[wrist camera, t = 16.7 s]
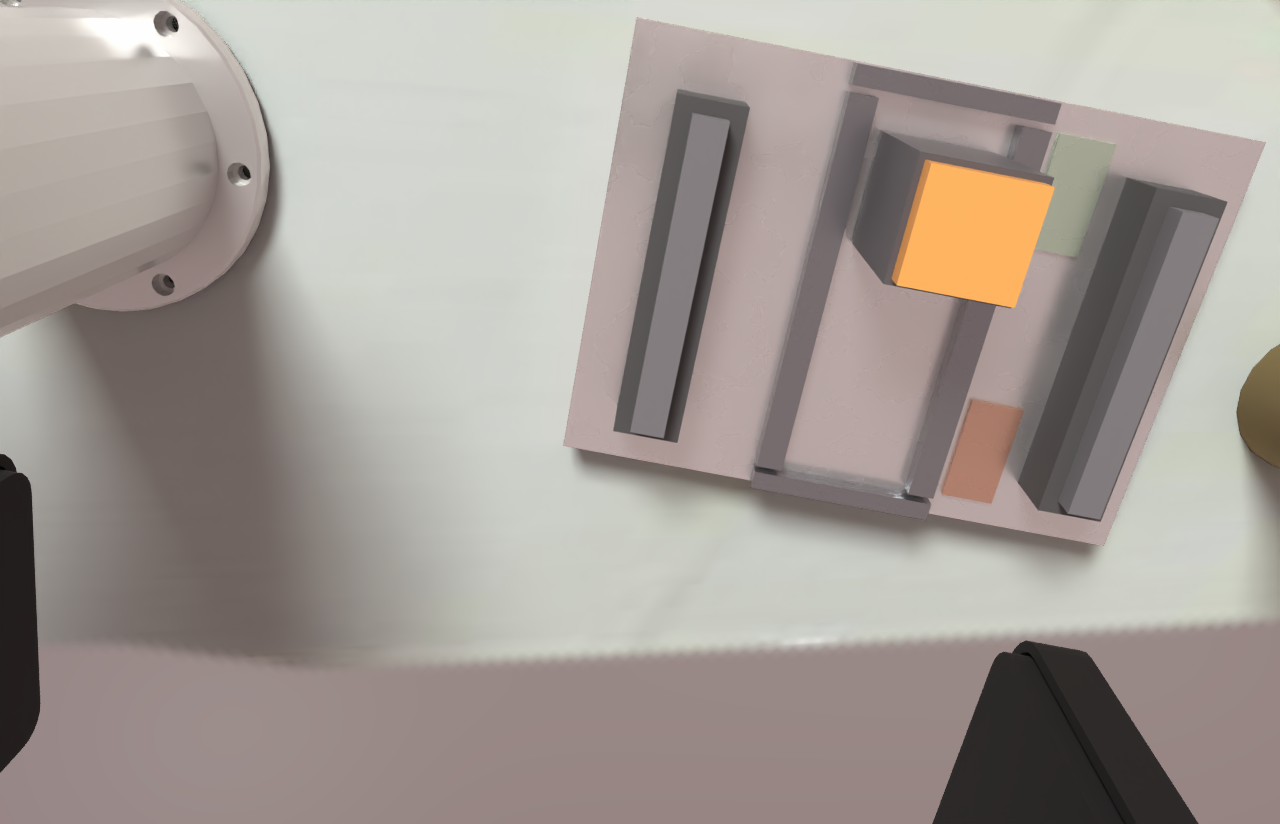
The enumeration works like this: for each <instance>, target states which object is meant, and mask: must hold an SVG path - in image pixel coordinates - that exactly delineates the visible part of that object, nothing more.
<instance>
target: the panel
mask: <svg viewBox="0 0 1280 824" xmlns="http://www.w3.org/2000/svg"><path fill="white" fill-rule="evenodd" d="M677 89H681V90H686V91H691V92H696V93H701V94H707V95H712V96H717V97H722V98H727V99H732V100H737V101H742V102H746V103H747V104H748V106H749V107H750V110H749V115H748V120H747V124H746V129H745V133H744V138H743V143H742V147H741V152H740V157H739V161H738V166H737V170H736V175H735V180H734V184H733V189H732V193H731V198H730V203H729V207H728V212H727V217H726V221H725V226H724V230H723V235H722V240H721V244H720V249H719V254H718V258H717V263H716V267H715V272H714V277H713V281H712V286H711V291H710V295H709V300H708V304H707V309H706V314H705V318H704V323H703V327H702V332H701V337H700V341H699V346H698V351H697V355H696V360H695V364H694V369H693V374H692V378H691V383H690V388H689V392H688V397H687V401H686V406H685V411H684V415H683V420H682V424H681V429H680V434H679V438H678V443H674V442H669V441H663V440H658V439H653V438H647V437H642V436H637V435H631V434H626V433H620V432H615V431H613V428H614V422H615V416H616V411H617V405H618V400H619V394H620V389H621V384H622V379H623V373H624V368H625V363H626V358H627V352H628V347H629V342H630V336H631V331H632V326H633V321H634V315H635V310H636V305H637V300H638V294H639V289H640V284H641V278H642V273H643V268H644V263H645V257H646V252H647V247H648V242H649V236H650V231H651V226H652V220H653V215H654V210H655V205H656V199H657V194H658V189H659V184H660V178H661V173H662V168H663V163H664V157H665V152H666V147H667V141H668V136H669V131H670V126H671V120H672V115H673V110H674V105H675V99H676V94H677ZM882 131H886V132H892V133H897V134H902V135H907V136H912V137H917V138H922V139H927V140H932V141H937V142H942V143H947V144H952V145H958V146H963V147H968V148H973V149H978V150H983V151H988V152H993V153H996V154H999V155H1001V156H1004V157H1006V158H1008V159H1011V160H1013V161H1016V162H1018V163H1020V164H1023V165H1025V166H1028V167H1030V168H1032V169H1035V170H1037V171H1040V172H1042V173H1044V174H1047V175H1049V176H1052V177H1054V180H1053V184H1052V186H1053V187H1055V189H1054V192H1053V195H1052V198H1051V201H1050V204H1049V207H1048V210H1047V213H1046V216H1045V219H1044V222H1043V225H1042V228H1041V231H1040V234H1039V237H1038V240H1037V243H1036V246H1035V249H1034V252H1033V255H1032V258H1031V261H1030V264H1029V267H1028V270H1027V273H1026V276H1025V279H1024V282H1023V285H1022V288H1021V291H1020V294H1019V297H1018V300H1017V303H1016V306H1015V308H1012V307H1011V308H1006V307H1000V306H995V305H990V304H985V303H980V302H974V301H969V300H964V299H959V298H954V297H948V296H943V295H938V294H933V293H928V292H922V291H917V290H912V289H907V288H902V287H896V286H891V285H886V284H883V283H882V282H881V280H880V279H879V278H878V277H877V275H876V274H875V273H874V271H873V270H872V269H871V268H870V266H869V265H868V264H867V262H866V261H865V260H864V258H863V257H862V256H861V255H860V253H859V252H858V251H857V249H856V248H855V247H854V245H853V244H852V242H853V238H854V234H855V231H856V227H857V223H858V219H859V216H860V212H861V208H862V204H863V200H864V197H865V193H866V189H867V185H868V182H869V178H870V174H871V170H872V166H873V163H874V159H875V155H876V151H877V148H878V144H879V140H880V136H881V132H882ZM1265 143H1266V142H1261V141H1256V140H1251V139H1246V138H1241V137H1237V136H1232V135H1227V134H1222V133H1217V132H1211V131H1206V130H1201V129H1196V128H1191V127H1186V126H1181V125H1176V124H1171V123H1166V122H1161V121H1156V120H1151V119H1146V118H1141V117H1136V116H1131V115H1126V114H1121V113H1116V112H1111V111H1106V110H1101V109H1096V108H1091V107H1086V106H1081V105H1076V104H1071V103H1066V102H1061V101H1056V100H1051V99H1046V98H1041V97H1036V96H1031V95H1026V94H1021V93H1016V92H1010V91H1005V90H1000V89H995V88H990V87H985V86H980V85H975V84H970V83H965V82H960V81H955V80H950V79H945V78H940V77H935V76H930V75H925V74H920V73H915V72H910V71H905V70H900V69H895V68H890V67H885V66H880V65H875V64H870V63H865V62H860V61H855V60H850V59H845V58H840V57H835V56H830V55H825V54H820V53H815V52H809V51H804V50H799V49H794V48H789V47H784V46H779V45H774V44H769V43H764V42H759V41H754V40H749V39H744V38H739V37H734V36H729V35H724V34H719V33H714V32H709V31H704V30H699V29H694V28H689V27H684V26H679V25H674V24H669V23H664V22H659V21H654V20H649V19H644V18H638V17H637V18H636V24H635V30H634V36H633V42H632V47H631V53H630V59H629V65H628V71H627V77H626V82H625V88H624V94H623V100H622V106H621V112H620V118H619V123H618V129H617V135H616V141H615V147H614V153H613V158H612V164H611V170H610V176H609V182H608V188H607V193H606V199H605V205H604V211H603V217H602V223H601V228H600V234H599V240H598V246H597V252H596V258H595V264H594V269H593V275H592V281H591V287H590V293H589V299H588V304H587V310H586V316H585V322H584V328H583V334H582V339H581V345H580V351H579V357H578V363H577V369H576V374H575V380H574V386H573V392H572V398H571V404H570V410H569V415H568V421H567V427H566V433H565V439H564V445H563V446H567V447H573V448H578V449H583V450H589V451H594V452H600V453H605V454H610V455H616V456H621V457H626V458H632V459H637V460H643V461H648V462H653V463H659V464H664V465H670V466H675V467H680V468H686V469H691V470H697V471H702V472H707V473H713V474H718V475H724V476H729V477H734V478H740V479H745V480H750V484H751V488H754V489H760V490H765V491H771V492H776V493H781V494H787V495H792V496H798V497H803V498H808V499H814V500H819V501H825V502H830V503H835V504H841V505H846V506H852V507H857V508H862V509H868V510H873V511H879V512H884V513H889V514H895V515H900V516H905V517H911V518H916V519H922V520H927V517H928V514H934V515H939V516H945V517H950V518H955V519H961V520H966V521H971V522H977V523H982V524H988V525H993V526H998V527H1004V528H1009V529H1015V530H1020V531H1025V532H1031V533H1036V534H1042V535H1047V536H1052V537H1058V538H1063V539H1069V540H1074V541H1079V542H1085V543H1090V544H1095V545H1101V546H1104V544H1105V541H1106V539H1107V536H1108V534H1109V531H1110V529H1111V526H1112V524H1113V521H1114V519H1115V516H1116V514H1117V511H1118V509H1119V506H1120V504H1121V501H1122V499H1123V496H1124V494H1125V492H1126V489H1127V487H1128V484H1129V482H1130V479H1131V477H1132V474H1133V472H1134V469H1135V467H1136V464H1137V462H1138V459H1139V457H1140V454H1141V452H1142V449H1143V447H1144V444H1145V442H1146V439H1147V437H1148V434H1149V432H1150V429H1151V427H1152V424H1153V422H1154V419H1155V417H1156V414H1157V412H1158V409H1159V407H1160V405H1161V402H1162V400H1163V397H1164V395H1165V392H1166V390H1167V387H1168V385H1169V382H1170V380H1171V377H1172V375H1173V372H1174V370H1175V367H1176V365H1177V362H1178V360H1179V357H1180V355H1181V352H1182V350H1183V347H1184V345H1185V342H1186V340H1187V337H1188V335H1189V332H1190V330H1191V327H1192V325H1193V322H1194V320H1195V318H1196V315H1197V313H1198V310H1199V308H1200V305H1201V303H1202V300H1203V298H1204V295H1205V293H1206V290H1207V288H1208V285H1209V283H1210V280H1211V278H1212V275H1213V273H1214V270H1215V268H1216V265H1217V263H1218V260H1219V258H1220V255H1221V253H1222V250H1223V248H1224V245H1225V243H1226V240H1227V238H1228V235H1229V233H1230V231H1231V228H1232V226H1233V223H1234V221H1235V218H1236V216H1237V213H1238V211H1239V208H1240V206H1241V203H1242V201H1243V198H1244V196H1245V193H1246V191H1247V188H1248V186H1249V183H1250V181H1251V178H1252V176H1253V173H1254V171H1255V168H1256V166H1257V163H1258V161H1259V158H1260V156H1261V153H1262V151H1263V148H1264V146H1265ZM1127 177H1128V178H1133V179H1138V180H1143V181H1148V182H1153V183H1158V184H1163V185H1168V186H1173V187H1178V188H1184V189H1189V190H1193V191H1197V192H1200V193H1203V194H1206V195H1209V196H1212V197H1215V198H1218V199H1221V200H1224V201H1227V205H1226V208H1225V210H1224V213H1223V215H1222V218H1221V220H1220V223H1219V225H1218V228H1217V230H1216V233H1215V235H1214V238H1213V240H1212V243H1211V245H1210V248H1209V250H1208V253H1207V255H1206V258H1205V260H1204V263H1203V265H1202V268H1201V270H1200V273H1199V276H1198V278H1197V281H1196V283H1195V286H1194V288H1193V291H1192V293H1191V296H1190V298H1189V301H1188V303H1187V306H1186V308H1185V311H1184V313H1183V316H1182V318H1181V321H1180V323H1179V326H1178V328H1177V331H1176V333H1175V336H1174V338H1173V341H1172V344H1171V346H1170V349H1169V351H1168V354H1167V356H1166V359H1165V361H1164V364H1163V366H1162V369H1161V371H1160V374H1159V376H1158V379H1157V381H1156V384H1155V386H1154V389H1153V391H1152V394H1151V396H1150V399H1149V401H1148V404H1147V406H1146V409H1145V412H1144V414H1143V417H1142V419H1141V422H1140V424H1139V427H1138V429H1137V432H1136V434H1135V437H1134V439H1133V442H1132V444H1131V447H1130V449H1129V452H1128V454H1127V457H1126V459H1125V462H1124V464H1123V467H1122V469H1121V472H1120V474H1119V477H1118V480H1117V482H1116V485H1115V487H1114V490H1113V492H1112V495H1111V497H1110V500H1109V502H1108V505H1107V507H1106V510H1105V512H1104V515H1103V517H1102V520H1101V522H1098V521H1093V520H1088V519H1082V518H1077V517H1072V516H1066V515H1061V514H1055V513H1050V512H1045V511H1039V510H1037V508H1036V507H1035V506H1034V504H1033V503H1032V502H1031V500H1030V499H1029V497H1028V496H1027V495H1026V493H1025V492H1024V491H1023V489H1022V488H1021V486H1020V485H1019V484H1018V480H1019V478H1020V475H1021V472H1022V469H1023V466H1024V464H1025V461H1026V458H1027V455H1028V452H1029V450H1030V447H1031V444H1032V441H1033V438H1034V436H1035V433H1036V430H1037V427H1038V424H1039V422H1040V419H1041V416H1042V413H1043V410H1044V408H1045V405H1046V402H1047V399H1048V396H1049V394H1050V391H1051V388H1052V385H1053V382H1054V380H1055V377H1056V374H1057V371H1058V368H1059V366H1060V363H1061V360H1062V357H1063V354H1064V352H1065V349H1066V346H1067V343H1068V340H1069V338H1070V335H1071V332H1072V329H1073V326H1074V324H1075V321H1076V318H1077V315H1078V313H1079V310H1080V307H1081V304H1082V301H1083V299H1084V296H1085V293H1086V290H1087V287H1088V285H1089V282H1090V279H1091V276H1092V273H1093V271H1094V268H1095V265H1096V262H1097V259H1098V257H1099V254H1100V251H1101V248H1102V245H1103V243H1104V240H1105V237H1106V234H1107V231H1108V229H1109V226H1110V223H1111V220H1112V217H1113V215H1114V212H1115V209H1116V206H1117V203H1118V201H1119V198H1120V195H1121V192H1122V189H1123V187H1124V184H1125V181H1126V178H1127Z"/></svg>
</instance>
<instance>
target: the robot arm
mask: <svg viewBox="0 0 1280 824" xmlns="http://www.w3.org/2000/svg"><path fill="white" fill-rule="evenodd" d="M175 17H176V19H177V20H178V25H179V28H178V31H176V30H175V29H174V28H173V26H172V20H173V18H175ZM244 166H246V167H247V168H248V169H249V171H250V175H251V178H248V177H246V176H245V175H244V174H243V167H244ZM269 172H270V162H269V152H268V141H267V133H266V129H265V126H264V122H263V118H262V115H261V111H260V107H259V104H258V101H257V99H256V96H255V94H254V92H253V90H252V88H251V86H250V83H249V81H248V79H247V77H246V75H245V73H244V71H243V69H242V67H241V66H240V64H239V63H238V61H237V60H236V58H235V57H234V55H233V54H232V53H231V51H230V50H229V48H228V47H227V45H226V44H225V42H224V41H223V39H222V38H221V37H220V36H219V35H218V34H217V33H216V32H215V31H214V30H213V29H212V28H211V27H210V26H209V24H208V23H207V22H206V21H205V20H204V19H203V18H202V17H201V16H200V15H199V14H198V13H197V12H196V11H195V10H193V9H192V8H191V7H189V6H188V5H187V4H185V3H184V2H183V1H181V0H0V338H1V337H3V336H5V335H7V334H9V333H11V332H14V331H16V330H18V329H20V328H22V327H24V326H27V325H29V324H31V323H33V322H35V321H37V320H39V319H42V318H44V317H46V316H48V315H50V314H52V313H55V312H57V311H59V310H61V309H63V308H65V307H68V306H70V305H72V304H74V303H75V304H79V305H82V306H86V307H89V308H93V309H102V310H112V311H123V312H126V311H137V310H148V309H155V308H158V307H162V306H165V305H168V304H172V303H175V302H178V301H181V300H183V299H185V298H187V297H189V296H191V295H193V294H195V293H197V292H199V291H201V290H203V289H204V288H206V287H207V286H208V285H210V284H211V283H213V282H214V281H215V280H217V279H218V278H220V277H221V276H222V275H224V274H225V273H226V272H227V271H228V270H229V269H230V268H231V267H232V265H233V264H234V263H235V262H236V261H237V260H238V259H239V258H240V257H241V255H242V254H243V253H244V252H245V250H246V248H247V246H248V245H249V243H250V241H251V239H252V237H253V236H254V234H255V232H256V230H257V229H258V226H259V223H260V220H261V216H262V213H263V210H264V207H265V203H266V200H267V193H268V183H269ZM168 277H170V278H171V279H172V280H173V282H174V285H173V284H172V283H171V282H170V281H169V278H168ZM39 712H40V686H39V662H38V637H37V612H36V588H35V563H34V539H33V515H32V491H31V485H30V482H29V480H28V478H27V477H26V476H25V475H24V474H22V473H17V472H16V467H15V466H14V464H13V462H12V460H11V459H10V458H9V457H7V456H6V455H4V454H0V772H1V771H2V770H3V769H4V768H5V767H6V766H7V765H8V764H9V763H10V761H11V760H12V759H13V758H14V757H15V756H16V755H17V754H18V753H19V752H20V750H21V749H22V748H23V747H24V746H25V744H26V743H27V742H28V740H29V739H30V737H31V735H32V733H33V731H34V729H35V726H36V724H37V721H38V716H39ZM933 824H1198V822H1197V821H1196V819H1195V818H1194V816H1193V815H1192V813H1191V812H1190V810H1189V808H1188V807H1187V805H1186V804H1185V802H1184V801H1183V799H1182V797H1181V796H1180V794H1179V793H1178V791H1177V790H1176V788H1175V787H1174V785H1173V784H1172V782H1171V781H1170V779H1169V777H1168V776H1167V774H1166V773H1165V771H1164V770H1163V768H1162V767H1161V765H1160V763H1159V762H1158V760H1157V759H1156V757H1155V756H1154V754H1153V753H1152V751H1151V749H1150V748H1149V746H1148V745H1147V743H1146V742H1145V740H1144V739H1143V737H1142V735H1141V734H1140V732H1139V731H1138V729H1137V728H1136V727H1135V725H1134V723H1133V722H1132V720H1131V718H1130V717H1129V715H1128V714H1127V713H1126V711H1125V709H1124V708H1123V706H1122V704H1121V703H1120V701H1119V700H1118V698H1117V697H1116V695H1115V694H1114V692H1113V691H1112V689H1111V688H1110V686H1109V684H1108V683H1107V681H1106V680H1105V678H1104V677H1103V675H1102V674H1101V672H1100V670H1099V669H1098V667H1097V666H1096V664H1095V663H1094V661H1093V660H1092V658H1091V657H1090V656H1089V655H1088V654H1087V653H1086V652H1083V651H1080V650H1075V649H1069V648H1063V647H1058V646H1053V645H1047V644H1042V643H1036V642H1031V641H1024V642H1022V643H1020V644H1019V645H1018V646H1017V647H1016V648H1015V649H1014V651H1013V653H1008V652H1002V653H1000V654H999V655H998V656H997V657H996V658H995V660H994V662H993V664H992V666H991V669H990V672H989V674H988V677H987V679H986V682H985V685H984V688H983V690H982V693H981V696H980V698H979V701H978V704H977V706H976V709H975V712H974V714H973V717H972V720H971V722H970V725H969V728H968V730H967V733H966V736H965V739H964V741H963V744H962V746H961V749H960V752H959V754H958V757H957V760H956V763H955V765H954V768H953V770H952V773H951V776H950V779H949V781H948V784H947V787H946V789H945V792H944V794H943V797H942V800H941V803H940V805H939V808H938V811H937V813H936V816H935V818H934V821H933Z"/></svg>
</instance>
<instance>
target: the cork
mask: <svg viewBox="0 0 1280 824" xmlns="http://www.w3.org/2000/svg"><path fill="white" fill-rule="evenodd" d="M1237 418H1238V424H1239V430H1240V434H1241V436H1242V437H1243V439H1244V440H1245V442H1246V444H1247V445H1248V447H1249V449H1250V450H1251V451H1252V452H1254V453H1255V454H1256V455H1258V456H1259V457H1260V458H1262V459H1263V460H1264V461H1266V462H1267V463H1269V464H1271V465H1273V466H1275V467H1277V468H1280V345H1278V346H1276V347H1275V348H1273V349H1271V350H1270V351H1269V352H1268V353H1267V354H1266V355H1265V356H1264V357H1263V358H1262V359H1261V361H1260V362H1259V363H1258V364H1257V365H1256V366H1255V367H1254V368H1253V369H1252V371H1251V373H1250V374H1249V376H1248V378H1247V380H1246V382H1245V384H1244V385H1243V387H1242V389H1241V392H1240V397H1239V403H1238V408H1237Z"/></svg>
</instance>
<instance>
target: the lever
mask: <svg viewBox="0 0 1280 824" xmlns="http://www.w3.org/2000/svg"><path fill="white" fill-rule="evenodd" d="M1053 180H1054V177H1052V176H1049V175H1047V174H1044V173H1042V172H1040V171H1037V170H1035V169H1032V168H1030V167H1028V166H1025V165H1023V164H1020V163H1018V162H1016V161H1013V160H1011V159H1008V158H1006V157H1004V156H1001V155H999V154H996V153H993V152H988V151H983V150H978V149H973V148H968V147H963V146H958V145H952V144H947V143H942V142H937V141H932V140H927V139H922V138H917V137H912V136H907V135H902V134H897V133H892V132H886V131H882V132H881V136H880V140H879V144H878V148H877V151H876V155H875V159H874V163H873V166H872V170H871V174H870V178H869V182H868V185H867V189H866V193H865V197H864V200H863V204H862V208H861V212H860V216H859V219H858V223H857V227H856V231H855V234H854V238H853V242H852V244H853V245H854V247H855V248H856V249H857V251H858V252H859V253H860V255H861V256H862V257H863V258H864V260H865V261H866V262H867V264H868V265H869V266H870V268H871V269H872V270H873V271H874V273H875V274H876V275H877V277H878V278H879V279H880V280H881V282H882V283H883V284H886V285H891V286H896V287H902V288H907V289H912V290H917V291H922V292H928V293H933V294H938V295H943V296H948V297H954V298H959V299H964V300H969V301H974V302H980V303H985V304H990V305H995V306H1000V307H1006V308H1011V307H1012V308H1015V306H1016V303H1017V300H1018V297H1019V294H1020V291H1021V288H1022V285H1023V282H1024V279H1025V276H1026V273H1027V270H1028V267H1029V264H1030V261H1031V258H1032V255H1033V252H1034V249H1035V246H1036V243H1037V240H1038V237H1039V234H1040V231H1041V228H1042V225H1043V222H1044V219H1045V216H1046V213H1047V210H1048V207H1049V204H1050V201H1051V198H1052V195H1053V192H1054V189H1055V187H1053V186H1052V184H1053Z"/></svg>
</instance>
